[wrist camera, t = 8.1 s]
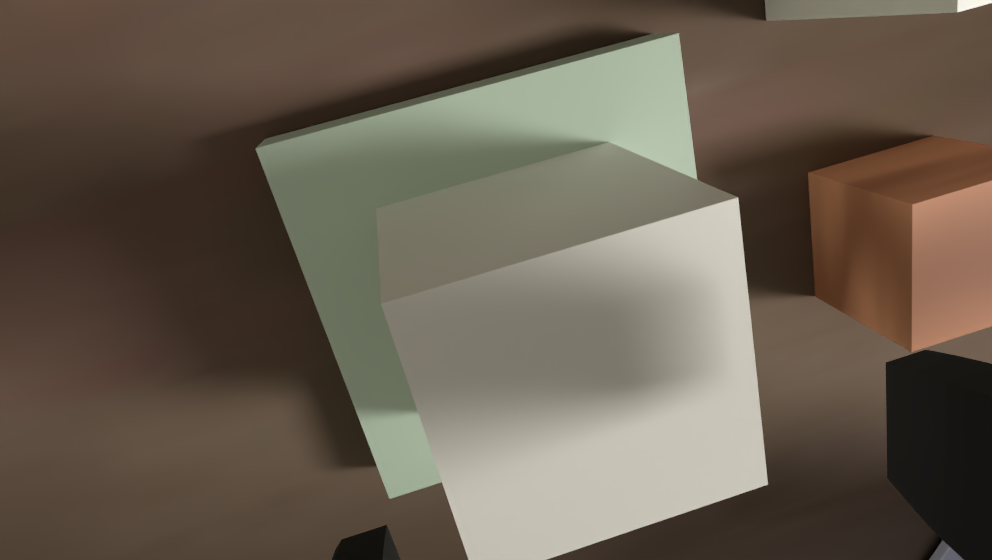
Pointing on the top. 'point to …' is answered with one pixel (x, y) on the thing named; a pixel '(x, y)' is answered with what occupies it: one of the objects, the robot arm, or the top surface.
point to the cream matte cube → (575, 348)
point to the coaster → (442, 164)
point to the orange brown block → (907, 239)
